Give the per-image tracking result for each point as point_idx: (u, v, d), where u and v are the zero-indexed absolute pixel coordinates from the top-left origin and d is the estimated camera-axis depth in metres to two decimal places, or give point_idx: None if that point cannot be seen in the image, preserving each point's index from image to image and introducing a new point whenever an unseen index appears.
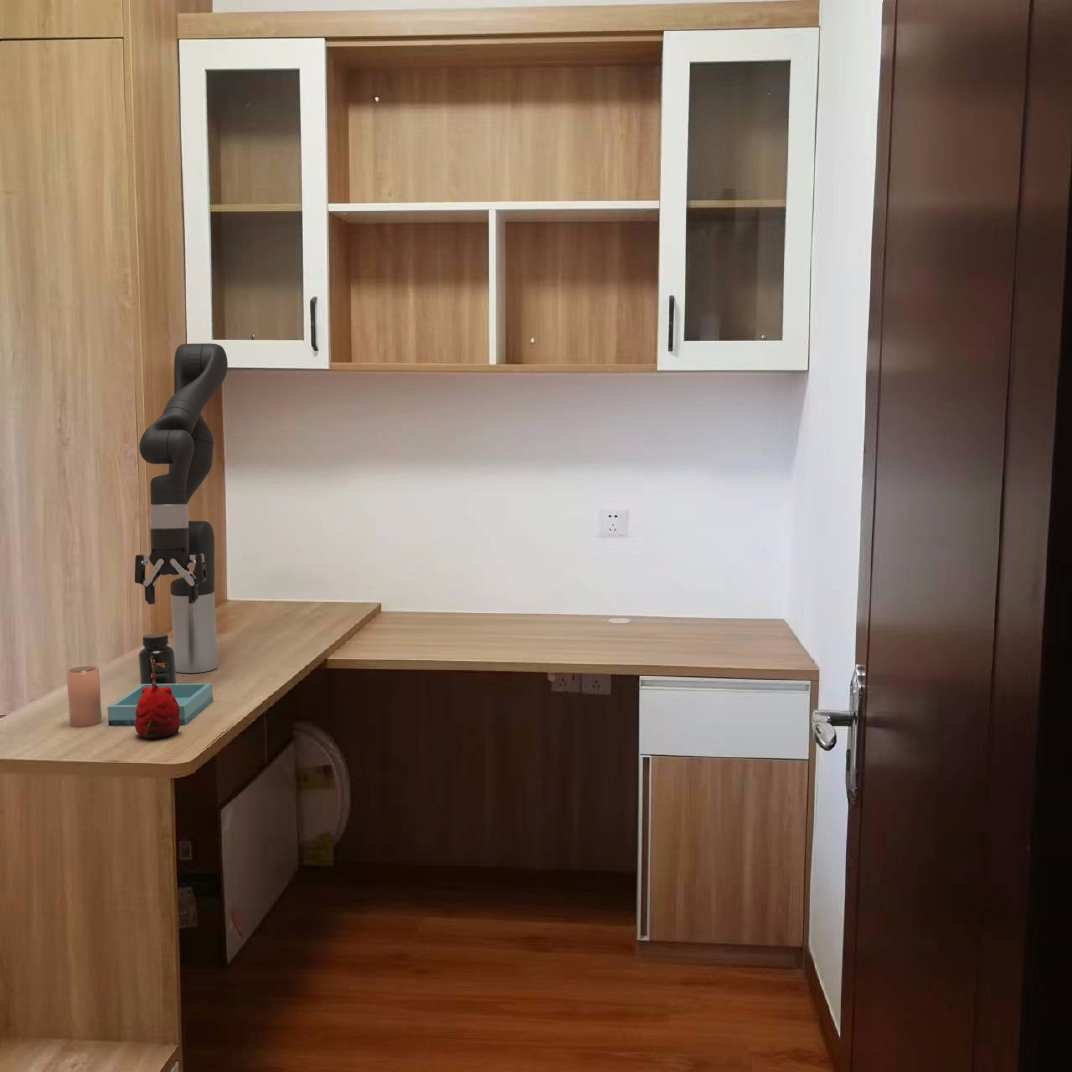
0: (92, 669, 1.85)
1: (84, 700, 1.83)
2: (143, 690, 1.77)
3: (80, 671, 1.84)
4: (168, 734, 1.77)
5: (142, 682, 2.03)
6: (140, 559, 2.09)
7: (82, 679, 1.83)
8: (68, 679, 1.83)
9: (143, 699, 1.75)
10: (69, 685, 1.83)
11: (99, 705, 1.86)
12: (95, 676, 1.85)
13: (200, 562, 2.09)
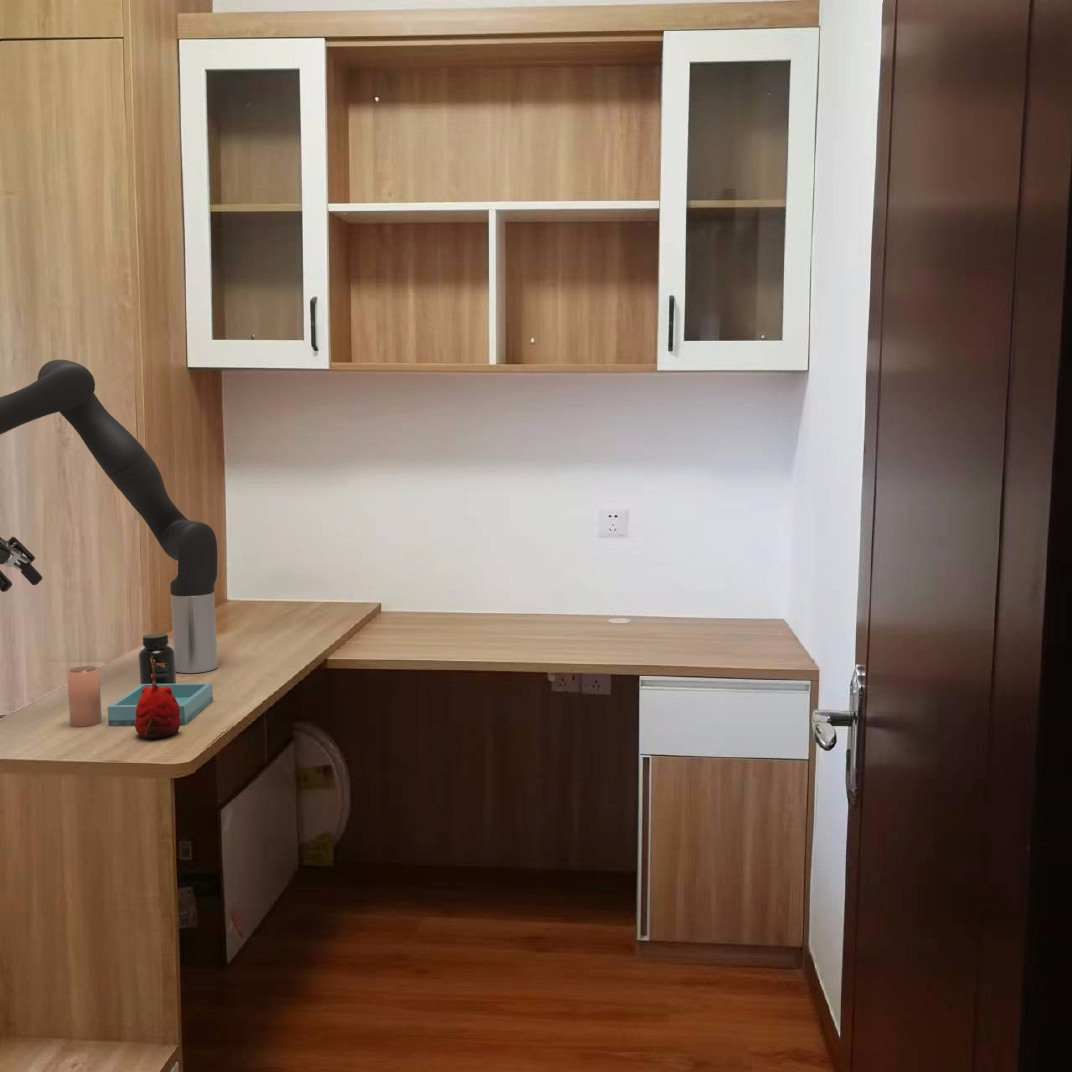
0: (92, 669, 1.85)
1: (84, 700, 1.83)
2: (143, 690, 1.77)
3: (80, 671, 1.84)
4: (168, 734, 1.77)
5: (142, 682, 2.03)
6: None
7: (82, 679, 1.83)
8: (68, 679, 1.83)
9: (143, 699, 1.75)
10: (69, 685, 1.83)
11: (99, 705, 1.86)
12: (95, 676, 1.85)
13: None
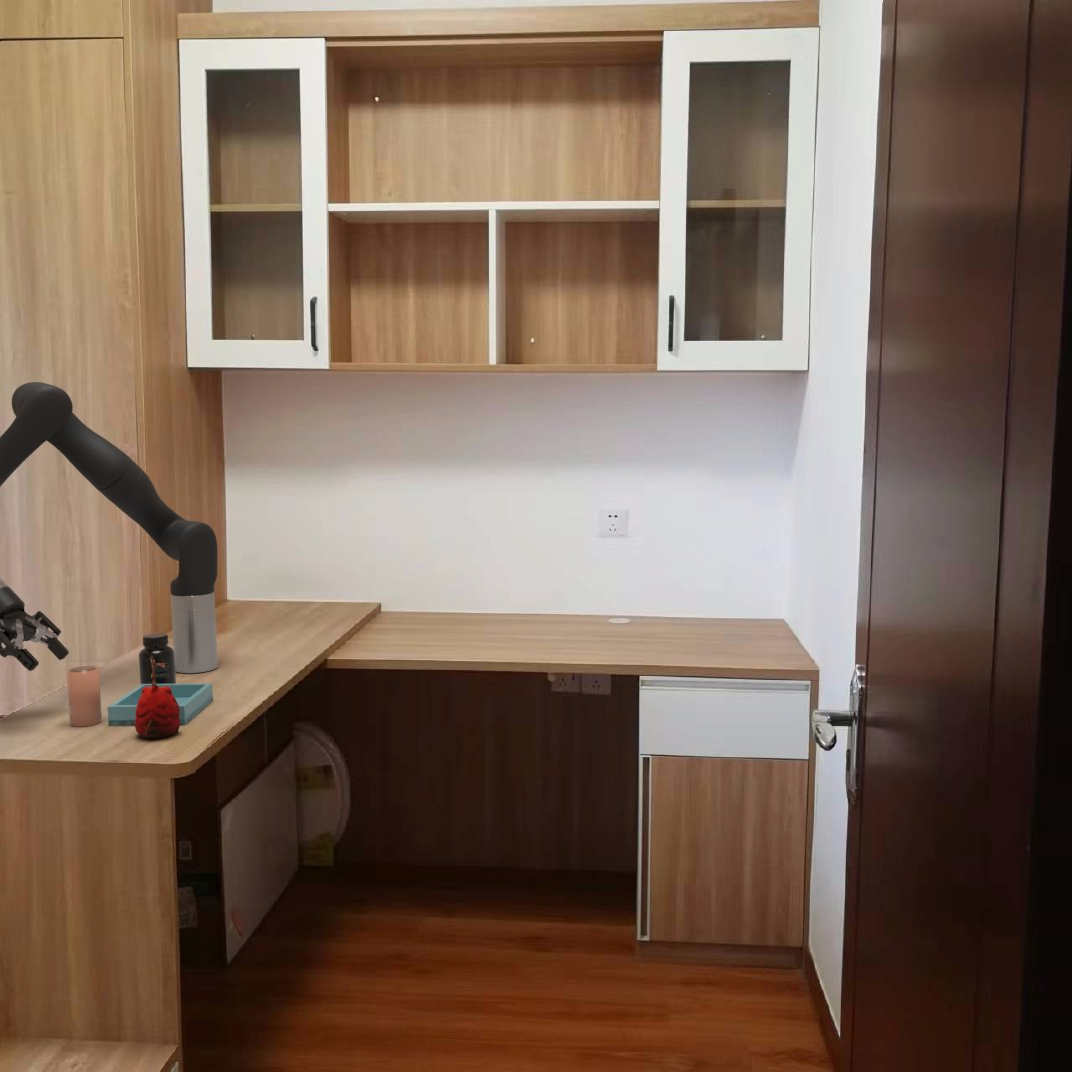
0: (92, 669, 1.85)
1: (84, 700, 1.83)
2: (143, 690, 1.77)
3: (80, 671, 1.84)
4: (168, 734, 1.77)
5: (142, 682, 2.03)
6: None
7: (82, 679, 1.83)
8: (68, 679, 1.84)
9: (143, 699, 1.75)
10: (69, 685, 1.84)
11: (99, 705, 1.86)
12: (95, 676, 1.85)
13: None
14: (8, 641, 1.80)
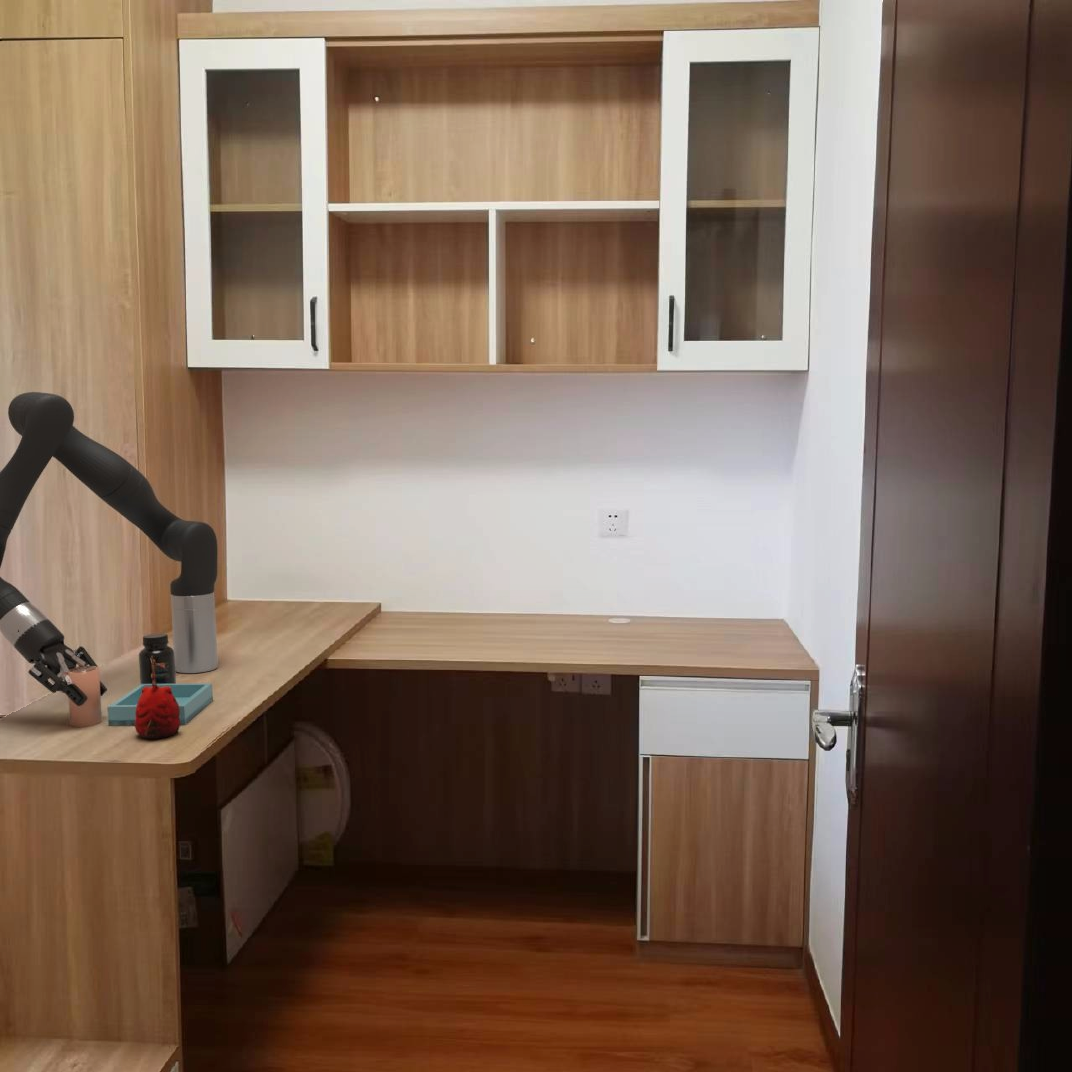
0: (92, 669, 1.85)
1: None
2: (143, 690, 1.77)
3: (80, 671, 1.84)
4: (168, 734, 1.77)
5: (142, 682, 2.03)
6: None
7: (82, 679, 1.83)
8: None
9: (143, 699, 1.75)
10: None
11: (99, 705, 1.86)
12: (95, 677, 1.85)
13: None
14: (56, 677, 1.80)
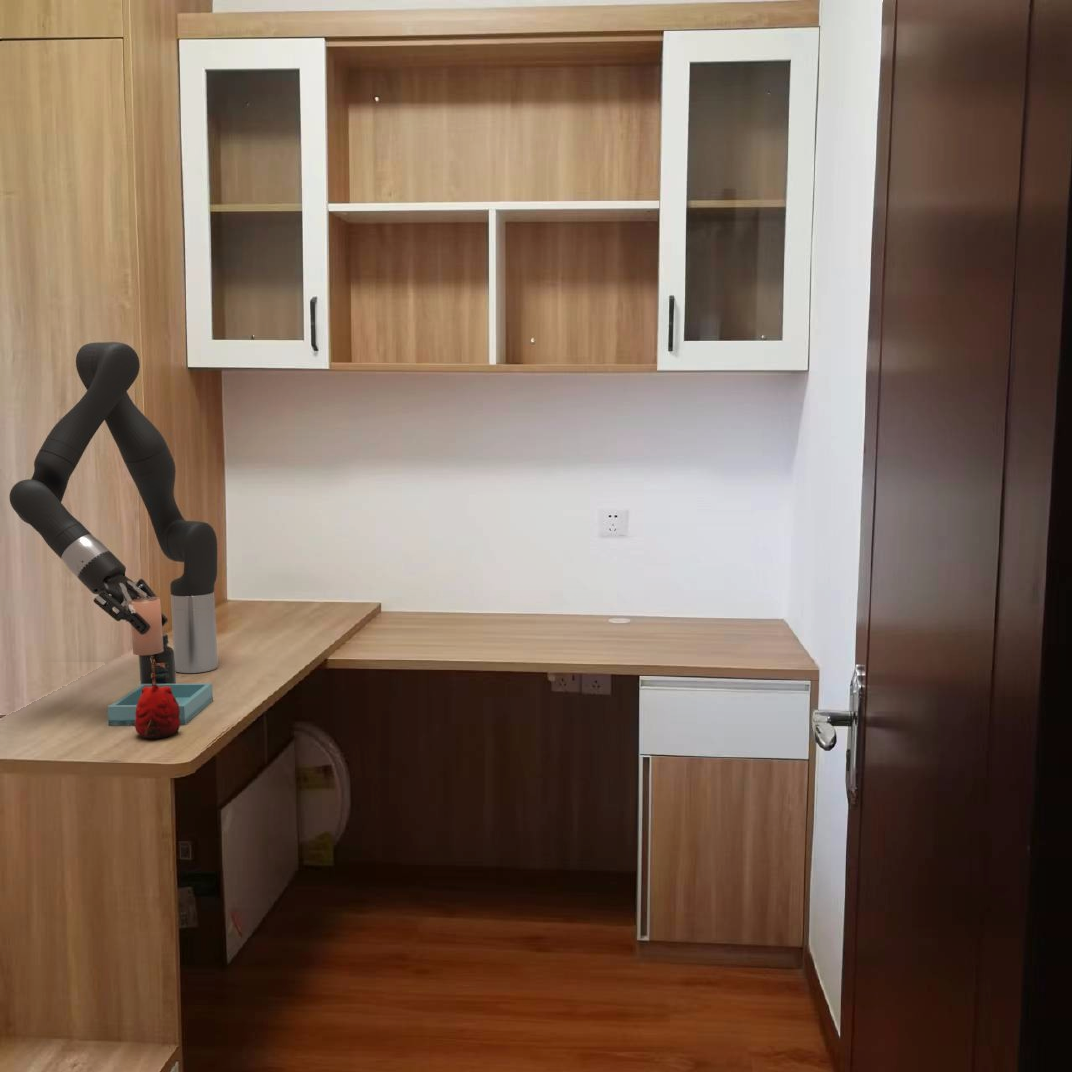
0: (154, 599, 1.89)
1: None
2: (143, 690, 1.77)
3: (142, 601, 1.88)
4: (168, 734, 1.77)
5: (142, 682, 2.03)
6: None
7: (144, 608, 1.87)
8: None
9: (143, 699, 1.75)
10: None
11: (161, 634, 1.90)
12: (157, 606, 1.88)
13: None
14: (120, 606, 1.84)
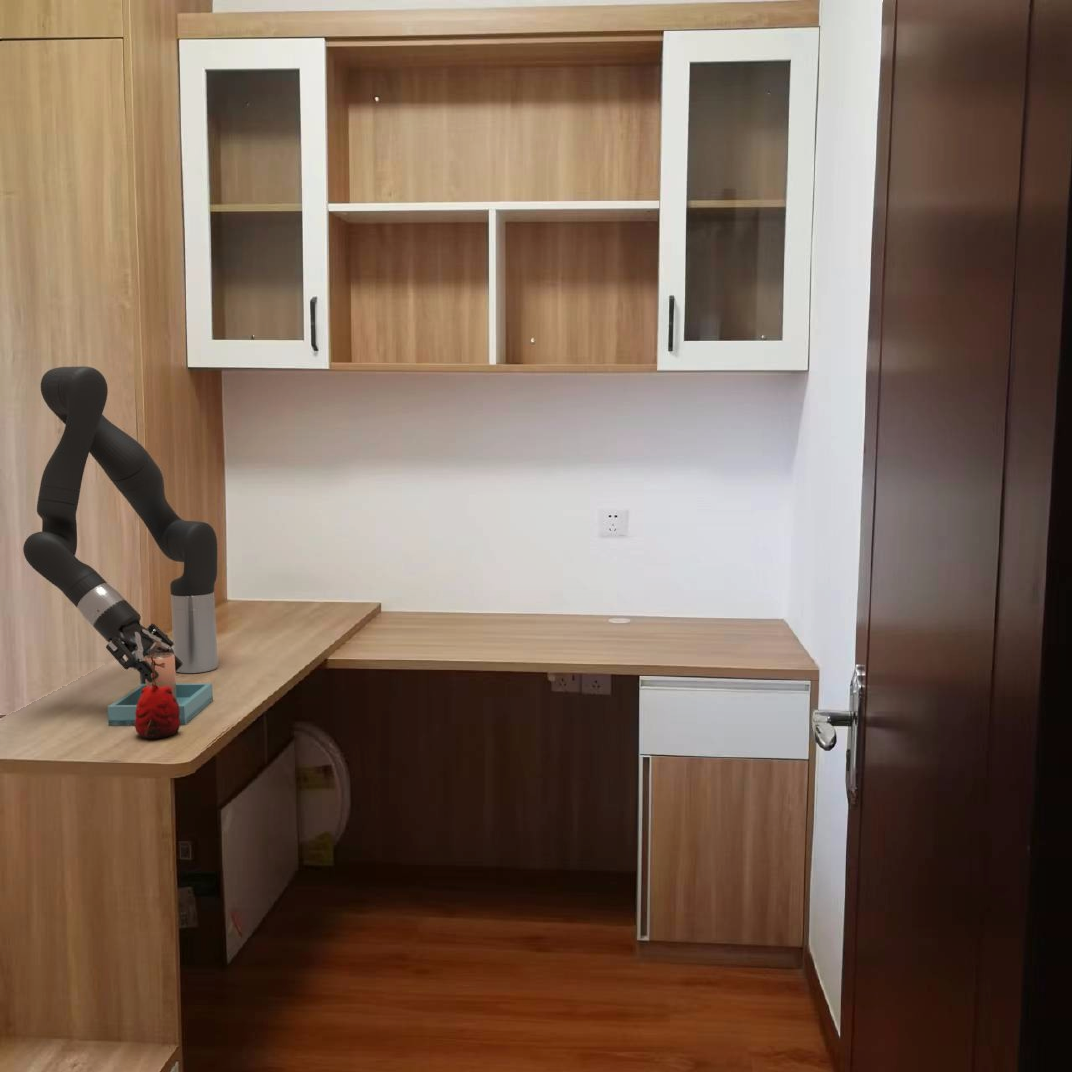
0: (168, 655, 1.91)
1: (161, 686, 1.89)
2: (143, 690, 1.77)
3: (157, 657, 1.90)
4: (168, 734, 1.77)
5: (142, 682, 2.03)
6: None
7: None
8: None
9: (143, 699, 1.75)
10: None
11: (175, 690, 1.92)
12: (171, 663, 1.90)
13: None
14: (130, 653, 1.85)
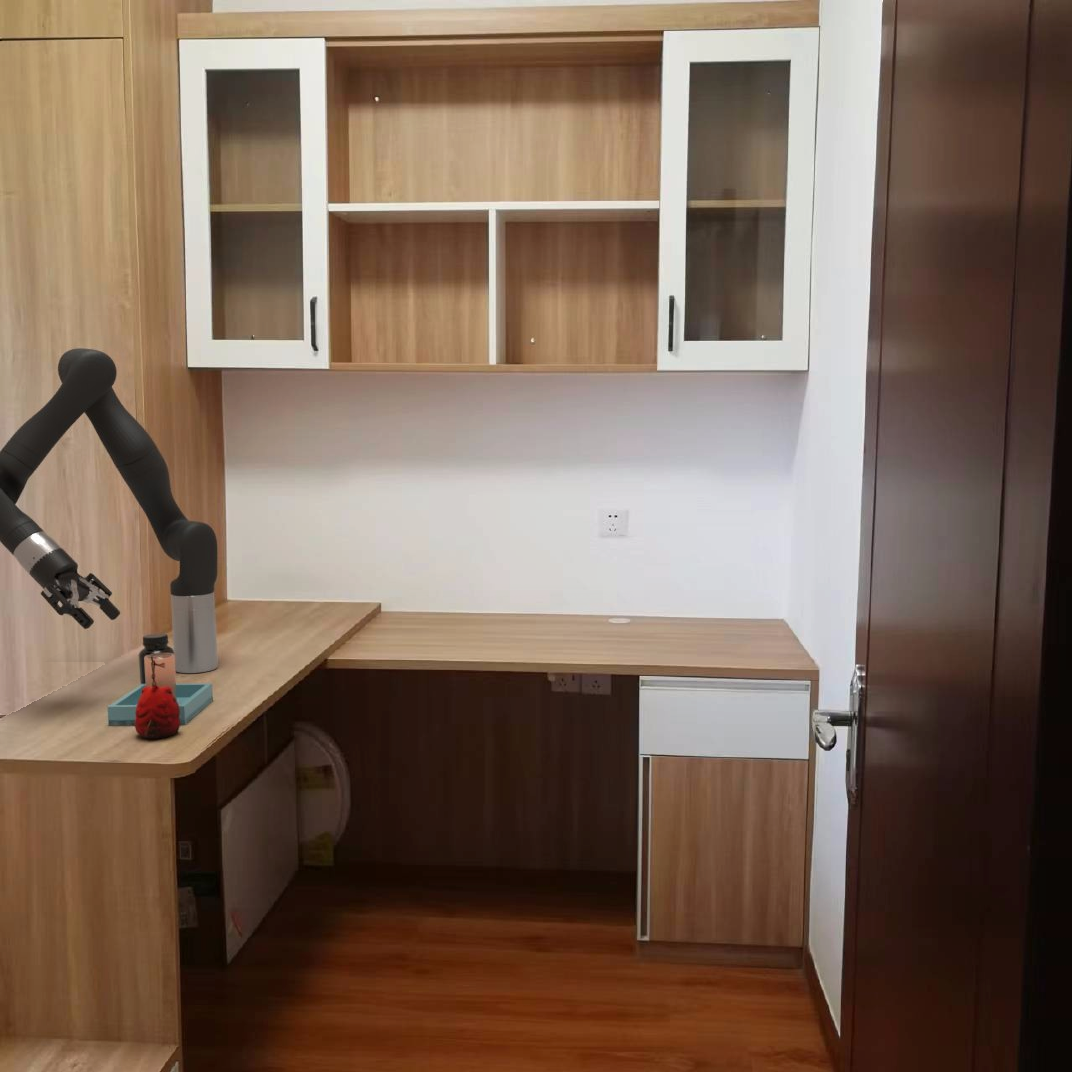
0: (168, 655, 1.91)
1: (161, 686, 1.89)
2: (143, 690, 1.77)
3: (157, 657, 1.90)
4: (168, 734, 1.77)
5: (142, 682, 2.03)
6: None
7: None
8: (146, 665, 1.89)
9: (143, 699, 1.75)
10: (147, 671, 1.89)
11: (175, 690, 1.92)
12: (171, 663, 1.90)
13: None
14: (65, 600, 1.86)
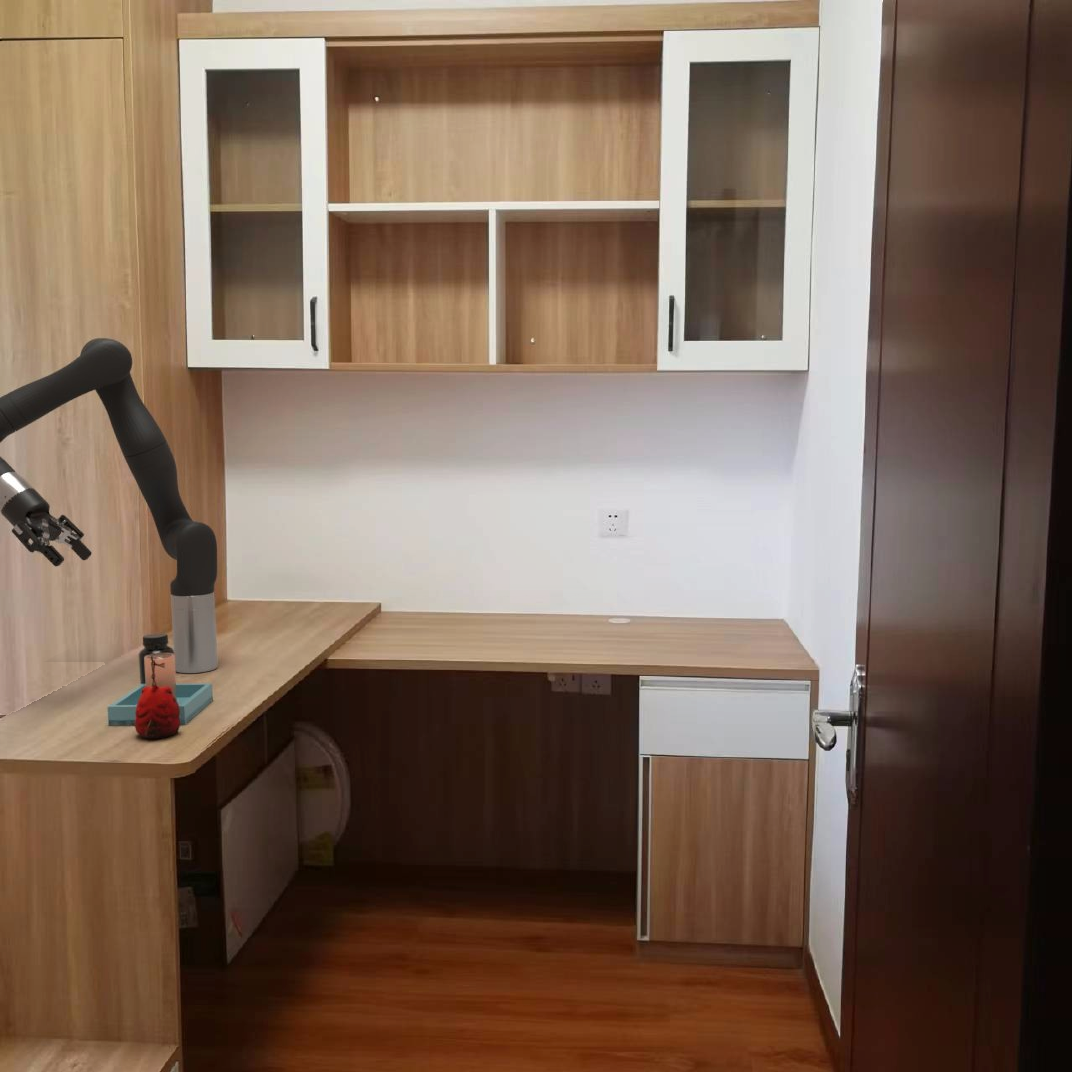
0: (168, 655, 1.91)
1: (161, 686, 1.89)
2: (143, 690, 1.77)
3: (157, 657, 1.90)
4: (168, 734, 1.77)
5: (142, 682, 2.03)
6: None
7: None
8: (146, 665, 1.89)
9: (143, 699, 1.75)
10: (147, 671, 1.89)
11: (175, 690, 1.92)
12: (171, 663, 1.90)
13: None
14: (35, 537, 1.89)
